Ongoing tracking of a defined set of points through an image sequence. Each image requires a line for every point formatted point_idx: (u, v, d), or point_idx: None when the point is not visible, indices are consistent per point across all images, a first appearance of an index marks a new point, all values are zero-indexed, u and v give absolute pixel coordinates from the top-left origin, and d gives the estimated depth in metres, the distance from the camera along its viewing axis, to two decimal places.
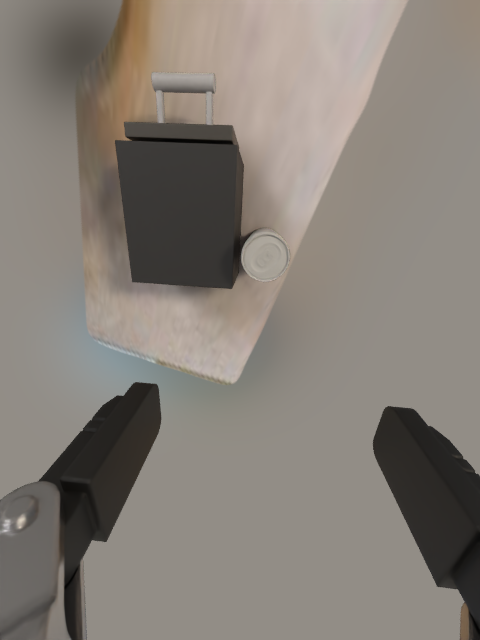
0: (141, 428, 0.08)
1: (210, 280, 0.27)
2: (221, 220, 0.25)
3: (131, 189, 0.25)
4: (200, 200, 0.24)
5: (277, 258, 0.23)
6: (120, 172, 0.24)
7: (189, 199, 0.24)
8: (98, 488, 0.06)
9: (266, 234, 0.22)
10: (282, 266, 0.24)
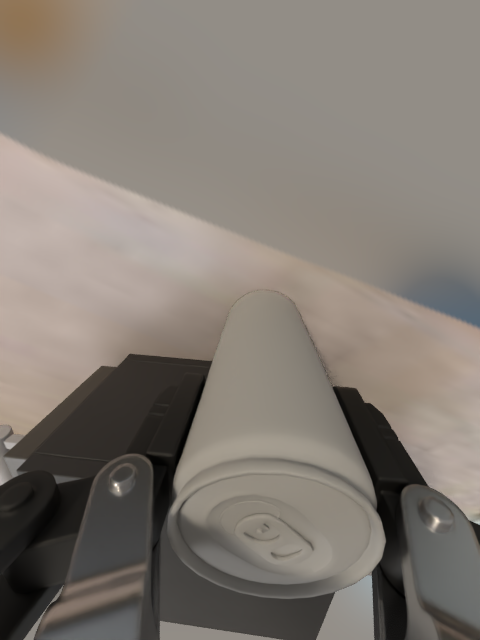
0: None
1: None
2: None
3: None
4: None
5: (272, 502, 0.05)
6: None
7: None
8: (176, 462, 0.06)
9: (173, 531, 0.05)
10: (318, 489, 0.05)
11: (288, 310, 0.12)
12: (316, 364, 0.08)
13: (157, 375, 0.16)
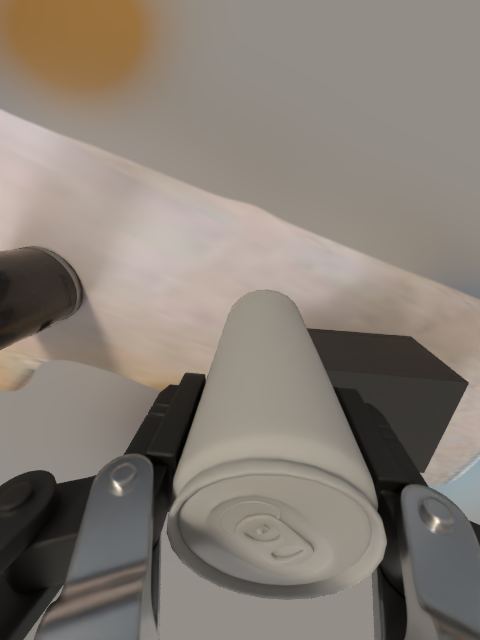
0: None
1: (449, 404, 0.22)
2: (381, 387, 0.22)
3: None
4: None
5: (273, 502, 0.05)
6: None
7: None
8: (176, 462, 0.06)
9: (173, 532, 0.05)
10: (319, 489, 0.05)
11: (289, 310, 0.12)
12: (317, 364, 0.08)
13: (327, 337, 0.28)
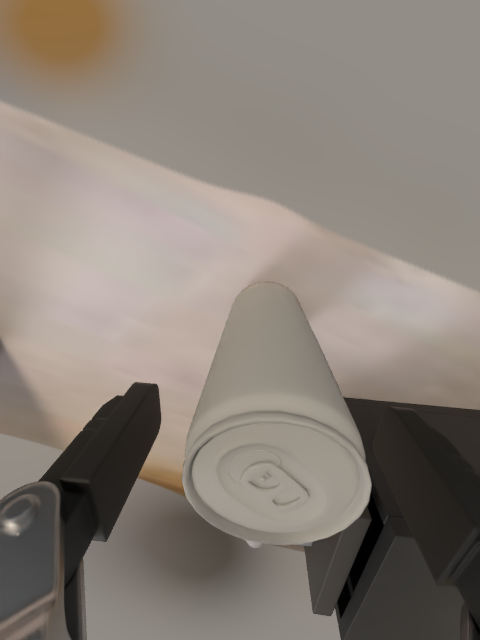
0: (141, 428, 0.08)
1: None
2: None
3: None
4: None
5: (274, 451, 0.06)
6: None
7: None
8: (98, 488, 0.06)
9: (187, 480, 0.06)
10: (312, 437, 0.05)
11: (289, 299, 0.13)
12: (314, 344, 0.09)
13: None
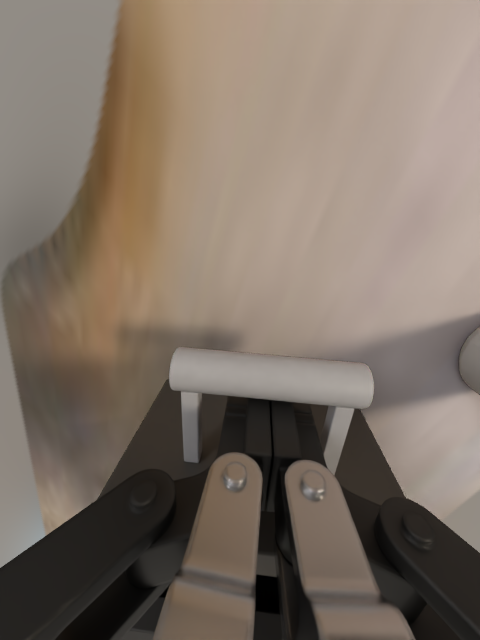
0: None
1: None
2: None
3: None
4: None
5: None
6: None
7: None
8: None
9: None
10: None
11: None
12: None
13: None
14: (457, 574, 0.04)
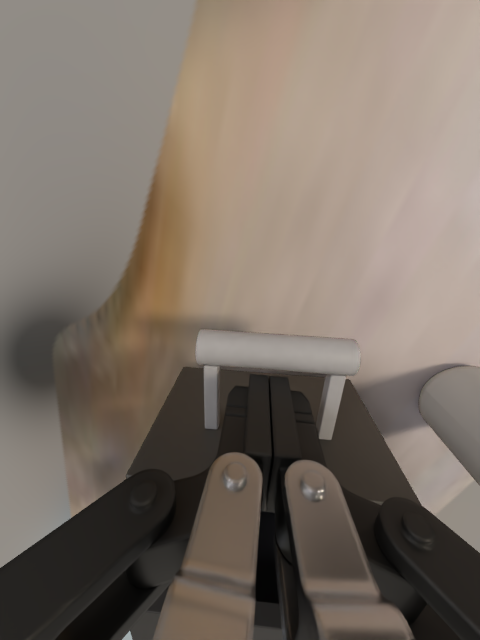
0: None
1: None
2: None
3: None
4: None
5: None
6: (134, 636, 0.12)
7: None
8: None
9: None
10: None
11: None
12: None
13: None
14: (457, 574, 0.04)
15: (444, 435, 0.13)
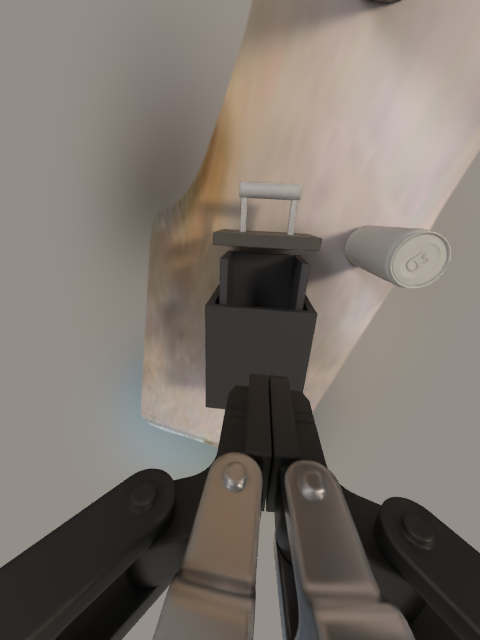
0: None
1: None
2: (295, 366, 0.28)
3: (215, 340, 0.27)
4: (277, 351, 0.27)
5: (434, 260, 0.20)
6: (207, 328, 0.27)
7: (268, 350, 0.27)
8: None
9: (427, 232, 0.19)
10: (438, 271, 0.20)
11: None
12: None
13: None
14: (457, 574, 0.04)
15: (350, 253, 0.28)
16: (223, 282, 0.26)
